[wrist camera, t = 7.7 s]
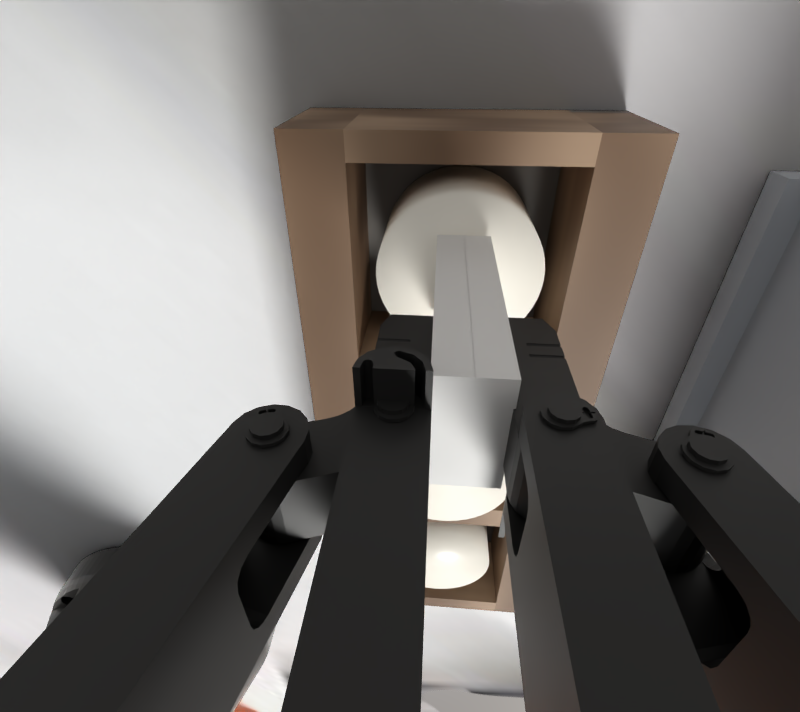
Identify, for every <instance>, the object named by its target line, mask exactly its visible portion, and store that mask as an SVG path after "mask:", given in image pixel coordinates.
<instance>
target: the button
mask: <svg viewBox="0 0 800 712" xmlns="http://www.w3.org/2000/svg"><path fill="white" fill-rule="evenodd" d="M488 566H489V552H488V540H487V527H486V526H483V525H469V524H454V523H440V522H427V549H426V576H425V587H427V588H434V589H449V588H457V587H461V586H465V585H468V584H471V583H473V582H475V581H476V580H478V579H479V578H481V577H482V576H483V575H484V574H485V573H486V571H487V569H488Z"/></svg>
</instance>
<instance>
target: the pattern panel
mask: <svg viewBox="0 0 800 712" xmlns="http://www.w3.org/2000/svg"><path fill="white" fill-rule="evenodd" d="M676 425H694V426H698V427H702V428H705V429H709V430H713V431H715V432H717V433H719V434H721V435H723V436H725V437H727V438H729V439H731V440H732V441H733V442H735V443H736V444H737V445H739V446H740V447H741V448H743V449H744V450H745V451H746V452H747V453H748V454H749V455H750V456H751V457H752V458H753V459H754V460H755V461H756V462H757V463H758V464H760V465H761V466H762V467H763V468H764V469H765V470H766V471H767V472H768V473H769V474H770V475H771V476H772V477H773V478H774V479H775V480H776V481H777V482H778V483H779V484H780V485H781V486H782V487H783V488H784V489H785V490H786V491H787V492H788V493H789V494H791V495H792V496H793V497H794V498H795V499H796V500H797V501H798V502H799V503H800V171H770V173H769V176H768V178H767V180H766V182H765V185H764V187H763V189H762V192H761V194H760V196H759V199H758V201H757V203H756V206H755V208H754V210H753V212H752V215H751V217H750V219H749V222H748V224H747V226H746V229H745V231H744V233H743V235H742V238H741V240H740V242H739V245H738V247H737V249H736V252H735V254H734V256H733V259H732V261H731V263H730V265H729V268H728V270H727V272H726V275H725V277H724V279H723V282H722V284H721V286H720V288H719V291H718V293H717V295H716V298H715V300H714V302H713V305H712V307H711V309H710V312H709V314H708V316H707V318H706V321H705V323H704V325H703V328H702V330H701V332H700V335H699V337H698V339H697V341H696V344H695V346H694V348H693V351H692V353H691V355H690V358H689V360H688V362H687V365H686V367H685V369H684V371H683V374H682V376H681V378H680V381H679V383H678V385H677V388H676V390H675V392H674V394H673V397H672V399H671V401H670V404H669V406H668V408H667V411H666V413H665V415H664V418H663V420H662V422H661V424H660V427H659V429H658V431H657V434H656V436H655V438H654V441H657V439H658V437H659V436H660V434H661V433H662V432H663V431H664V430H665V429H667V428H670V427H673V426H676ZM708 553H709V552H708ZM709 554H710V553H709ZM710 556H711V555H710ZM711 557H712V556H711ZM712 558H713V557H712ZM713 559H714V558H713Z"/></svg>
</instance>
